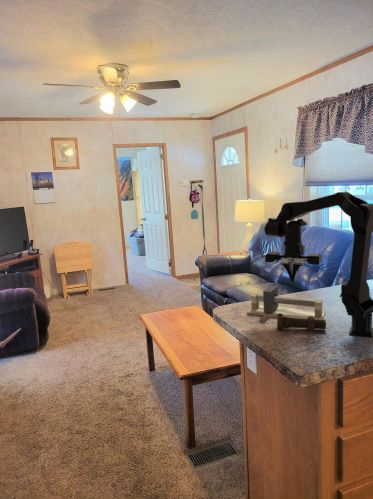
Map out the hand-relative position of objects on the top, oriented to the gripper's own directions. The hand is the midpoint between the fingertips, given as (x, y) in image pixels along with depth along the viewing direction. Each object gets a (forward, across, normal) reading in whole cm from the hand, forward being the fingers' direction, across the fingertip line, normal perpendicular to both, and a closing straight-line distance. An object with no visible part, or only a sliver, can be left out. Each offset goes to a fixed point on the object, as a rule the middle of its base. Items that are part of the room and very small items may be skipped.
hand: (293, 281), depth 134 cm
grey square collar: (+12, +8, 0) cm, 15 cm away
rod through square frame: (+12, +3, 0) cm, 13 cm away
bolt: (+13, -6, +13) cm, 19 cm away
